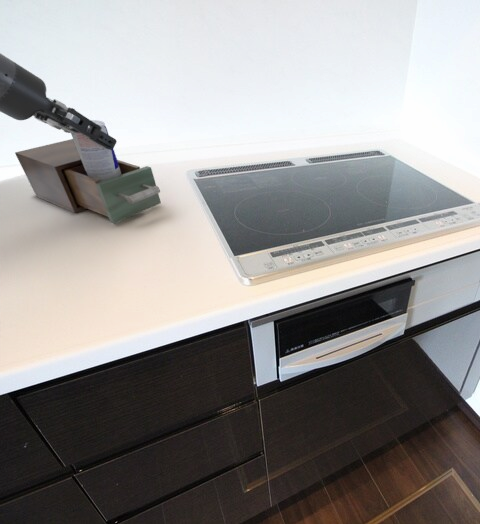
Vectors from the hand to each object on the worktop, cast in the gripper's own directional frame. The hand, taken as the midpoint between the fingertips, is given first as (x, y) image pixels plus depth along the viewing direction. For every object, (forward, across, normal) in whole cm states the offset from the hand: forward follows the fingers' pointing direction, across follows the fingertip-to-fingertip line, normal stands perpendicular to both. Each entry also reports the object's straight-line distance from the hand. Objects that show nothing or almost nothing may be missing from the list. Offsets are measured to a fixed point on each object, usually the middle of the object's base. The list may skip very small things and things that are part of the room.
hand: (103, 141), depth 68 cm
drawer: (+8, -3, +10) cm, 13 cm away
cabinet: (+8, +12, +11) cm, 18 cm away
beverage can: (+7, 0, +9) cm, 12 cm away
